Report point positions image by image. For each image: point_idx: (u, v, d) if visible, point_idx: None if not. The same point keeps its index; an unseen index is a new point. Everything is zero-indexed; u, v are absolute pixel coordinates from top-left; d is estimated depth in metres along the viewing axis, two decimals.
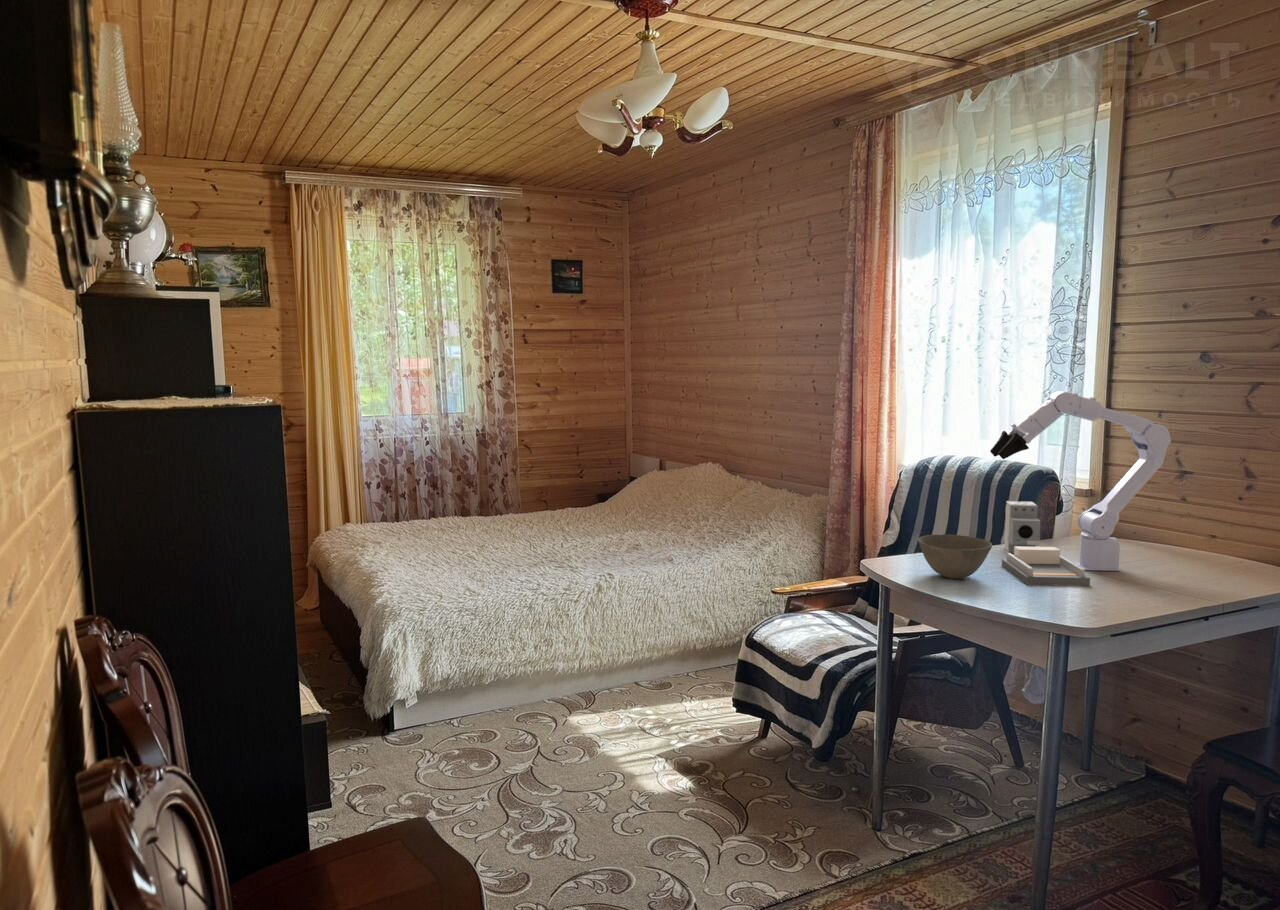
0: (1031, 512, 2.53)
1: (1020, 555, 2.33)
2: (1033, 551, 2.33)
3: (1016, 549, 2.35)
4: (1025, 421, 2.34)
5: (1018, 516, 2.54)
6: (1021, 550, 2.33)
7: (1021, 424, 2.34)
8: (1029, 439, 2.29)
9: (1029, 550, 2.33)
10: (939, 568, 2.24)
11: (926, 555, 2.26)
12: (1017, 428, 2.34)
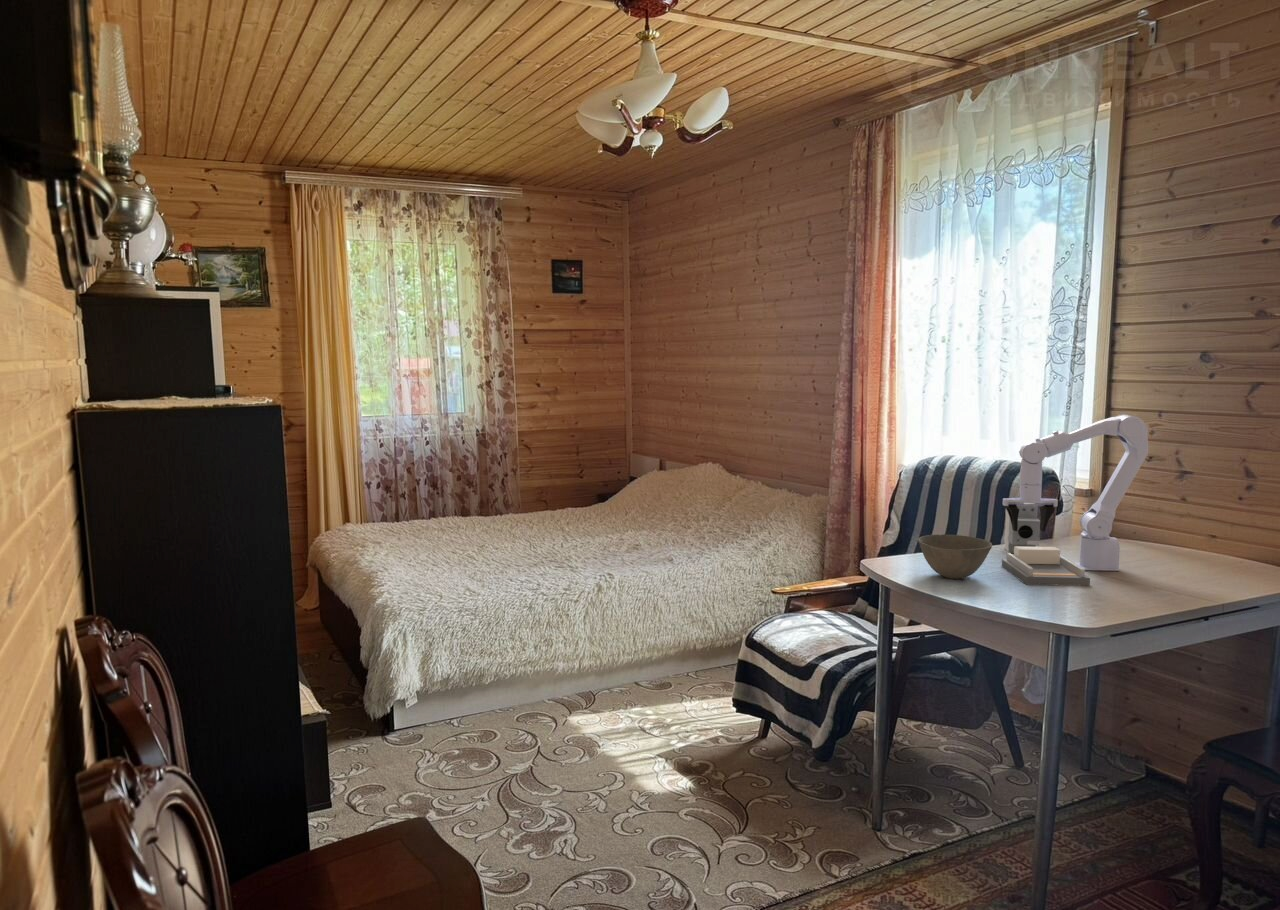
0: (1031, 512, 2.53)
1: (1020, 555, 2.33)
2: (1033, 551, 2.33)
3: (1016, 549, 2.35)
4: None
5: (1018, 516, 2.54)
6: (1021, 550, 2.33)
7: None
8: (1004, 502, 2.41)
9: (1029, 550, 2.33)
10: (939, 568, 2.24)
11: (926, 555, 2.26)
12: None
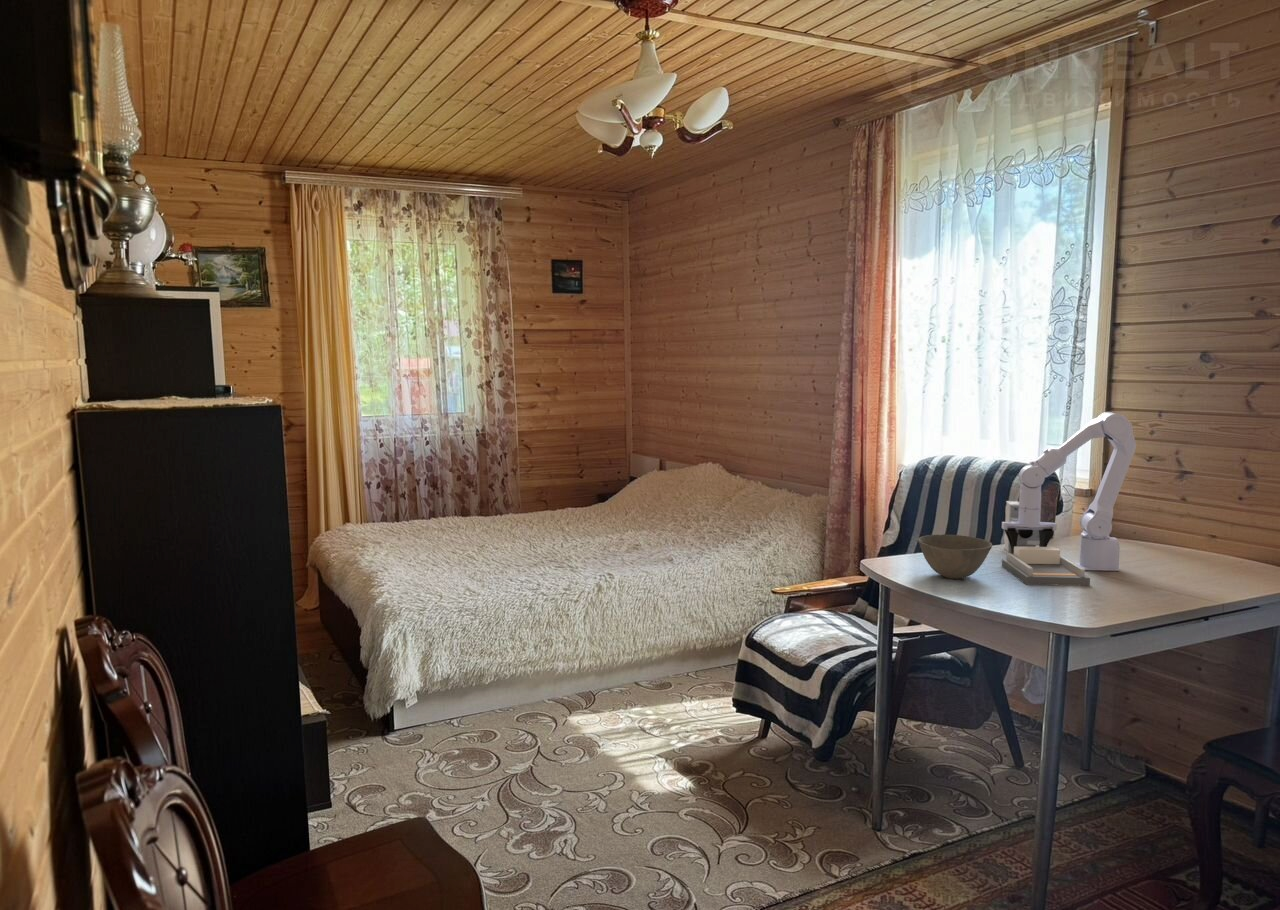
0: None
1: (1020, 555, 2.33)
2: (1033, 551, 2.33)
3: (1016, 549, 2.35)
4: None
5: (1018, 516, 2.54)
6: (1021, 550, 2.33)
7: None
8: (1003, 526, 2.41)
9: (1029, 550, 2.33)
10: (939, 568, 2.24)
11: (926, 555, 2.26)
12: None
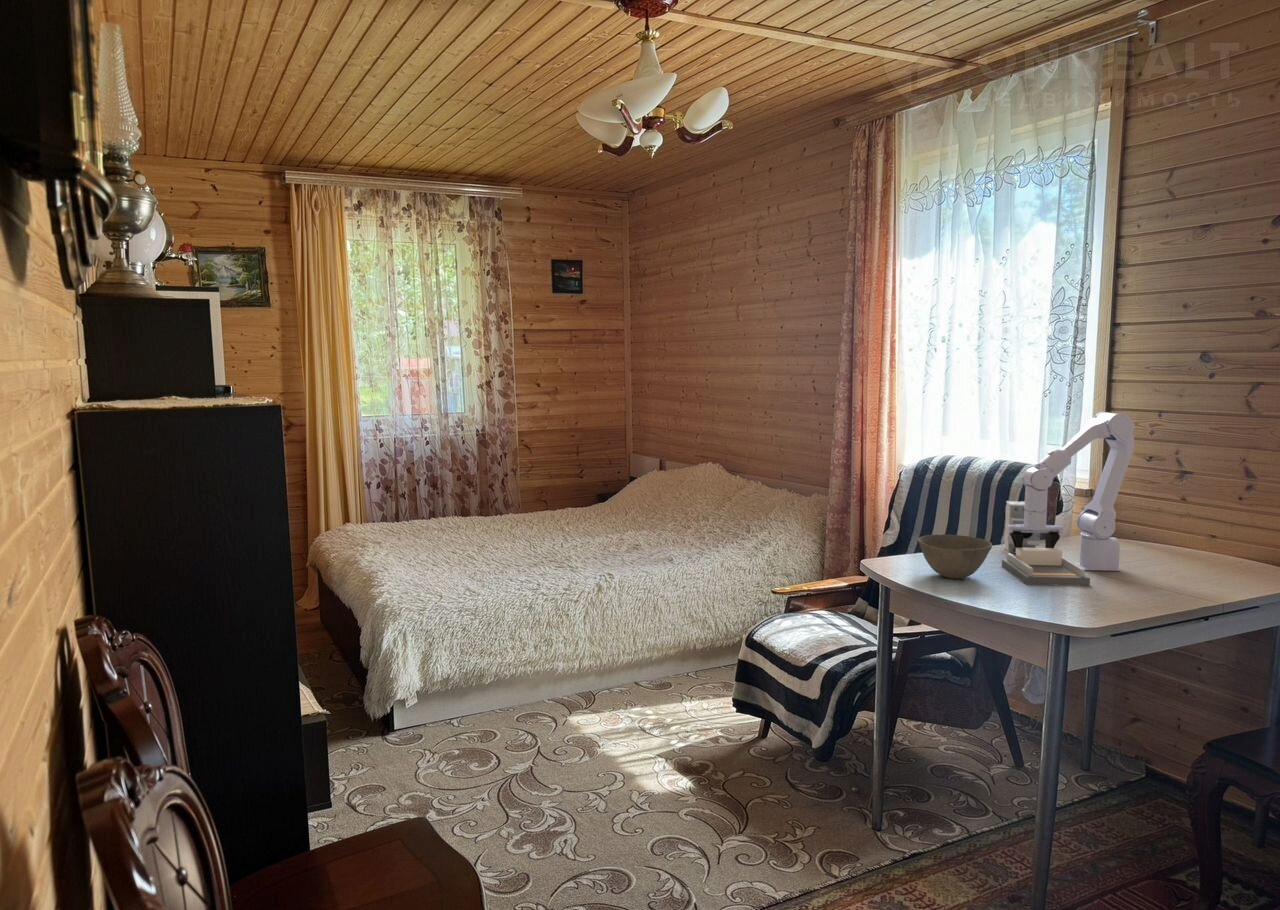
0: None
1: (1022, 556, 2.32)
2: (1035, 552, 2.31)
3: (1018, 550, 2.34)
4: None
5: (1018, 516, 2.54)
6: (1023, 551, 2.32)
7: None
8: (1008, 529, 2.37)
9: (1031, 551, 2.31)
10: (939, 568, 2.24)
11: (926, 555, 2.26)
12: None
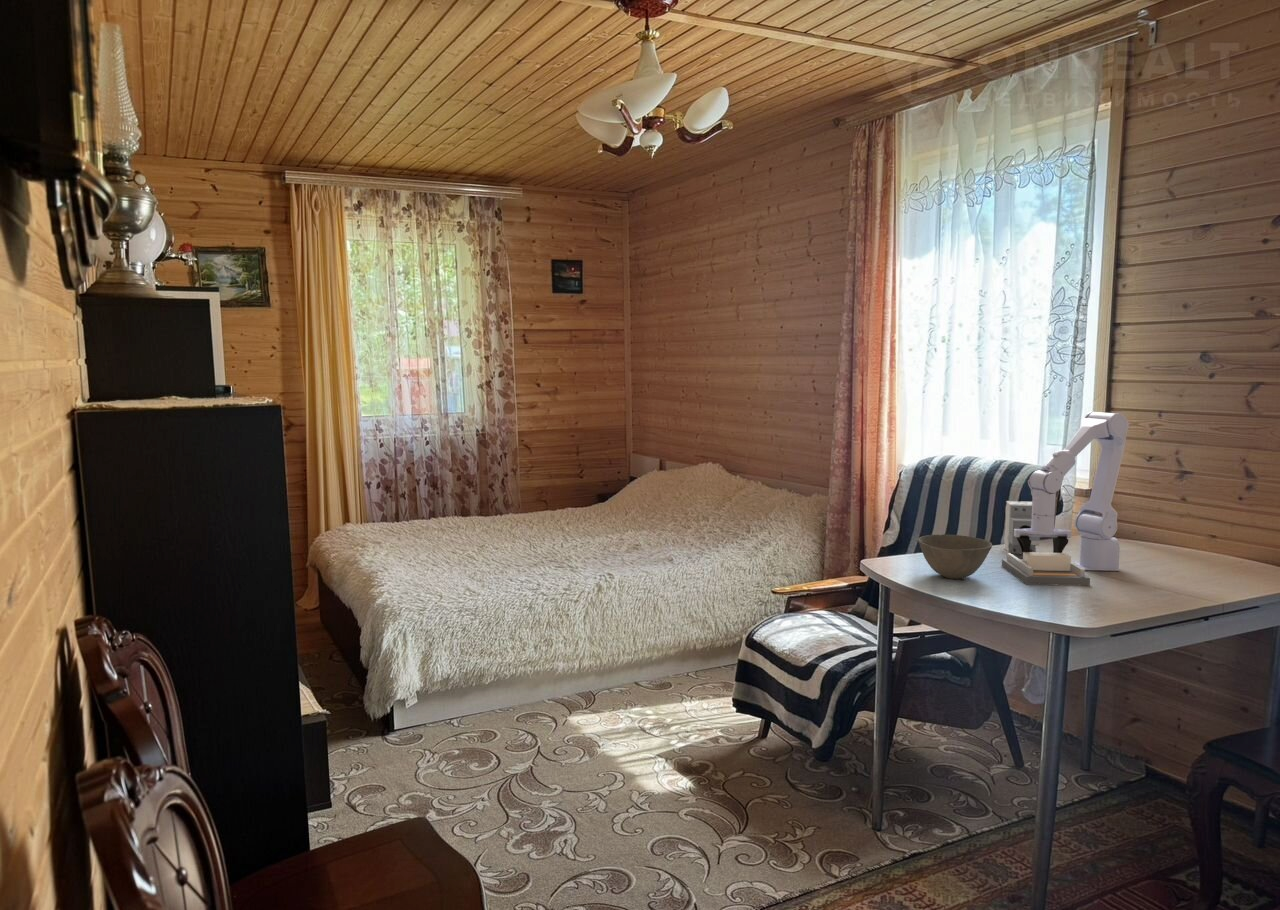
0: (1031, 512, 2.53)
1: (1029, 561, 2.26)
2: (1043, 557, 2.25)
3: (1025, 555, 2.28)
4: None
5: (1018, 516, 2.54)
6: (1030, 556, 2.26)
7: None
8: (1015, 533, 2.31)
9: (1039, 556, 2.26)
10: (939, 568, 2.24)
11: (926, 555, 2.26)
12: None
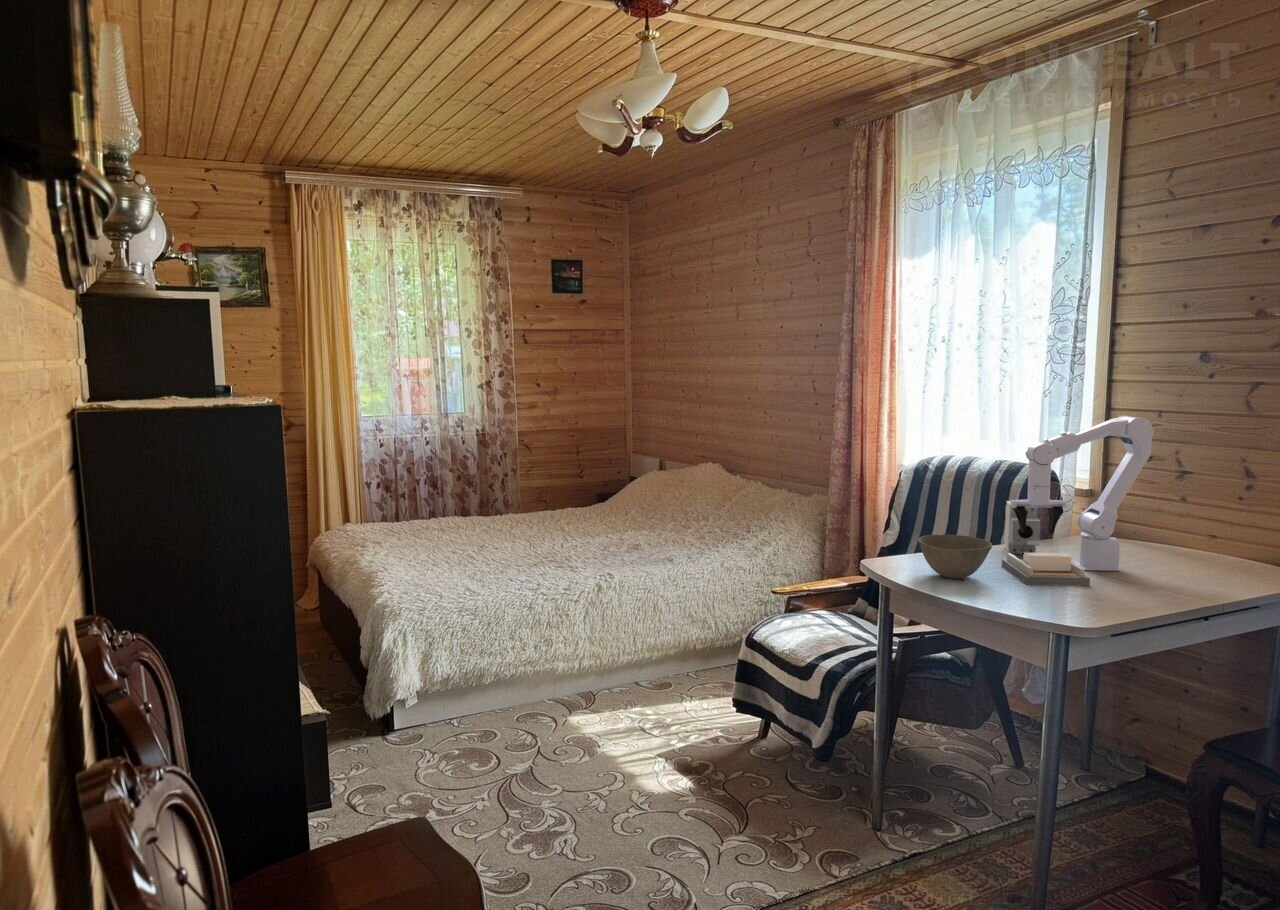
0: (1031, 512, 2.53)
1: (1030, 561, 2.26)
2: (1043, 558, 2.25)
3: (1026, 555, 2.27)
4: None
5: None
6: (1031, 556, 2.25)
7: None
8: (1012, 504, 2.37)
9: (1039, 556, 2.25)
10: (939, 568, 2.24)
11: (926, 555, 2.26)
12: None
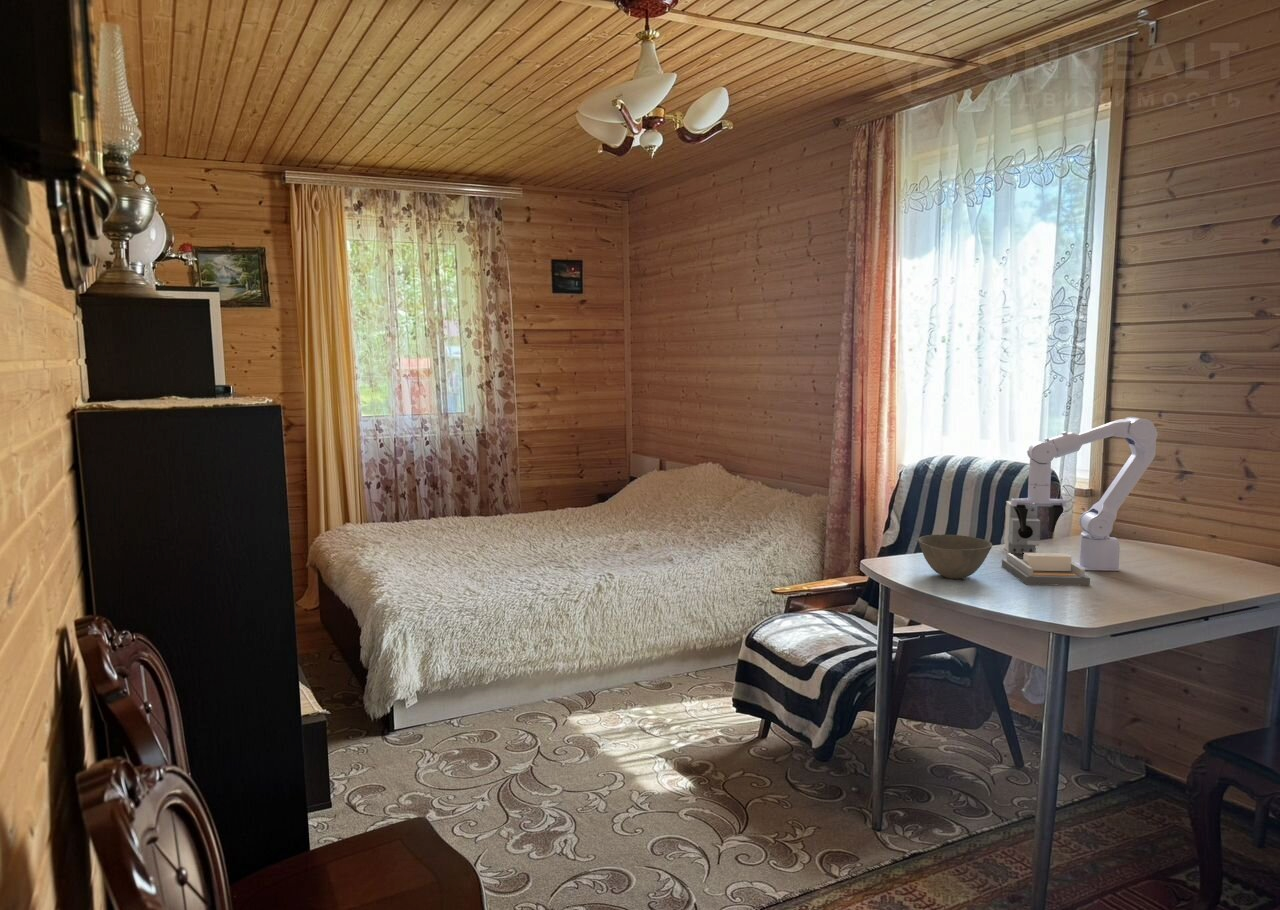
0: (1031, 512, 2.53)
1: (1030, 561, 2.26)
2: (1043, 558, 2.25)
3: (1026, 555, 2.27)
4: None
5: None
6: (1031, 556, 2.25)
7: None
8: (1012, 502, 2.39)
9: (1039, 556, 2.25)
10: (939, 568, 2.24)
11: (926, 555, 2.26)
12: None
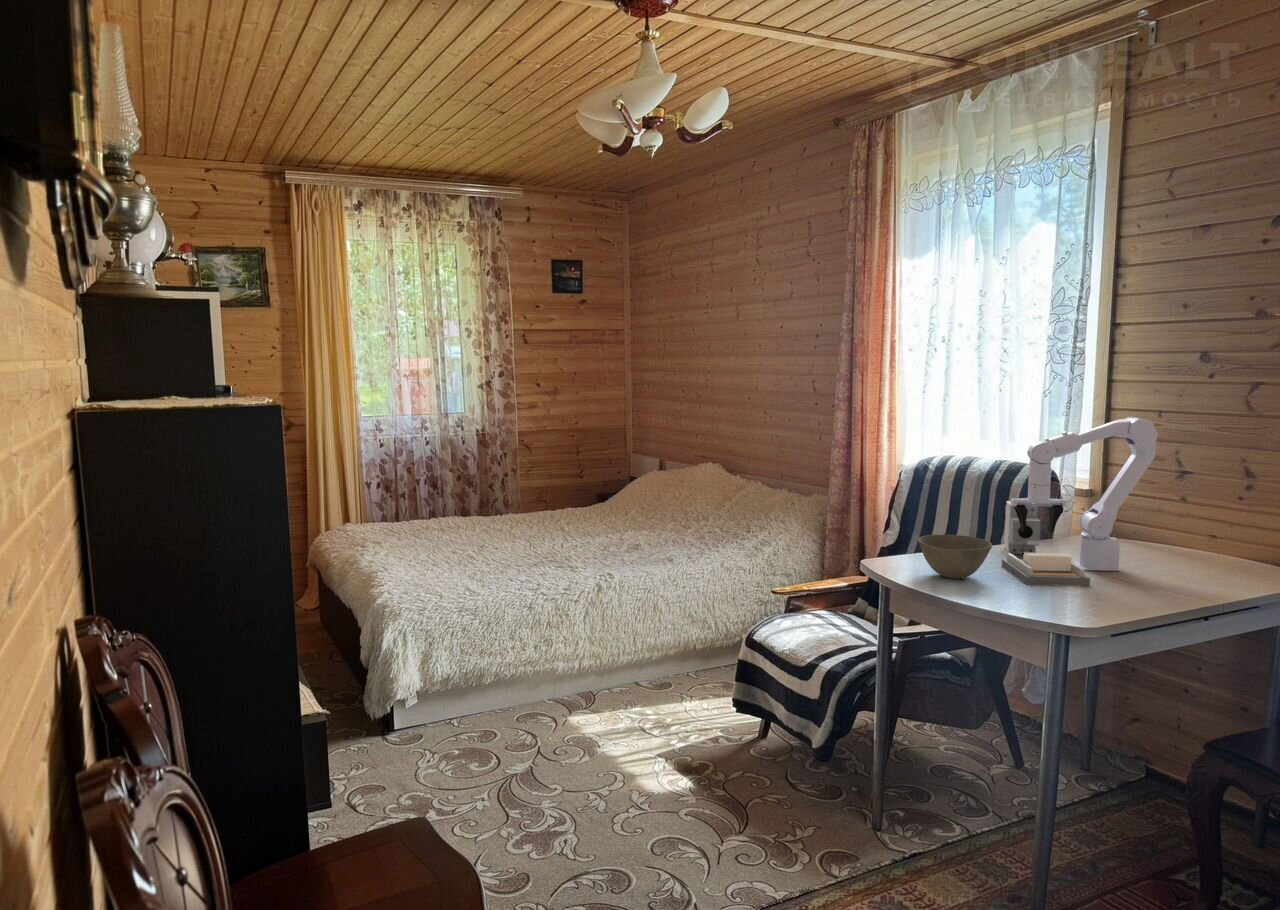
0: (1031, 512, 2.53)
1: (1030, 561, 2.26)
2: (1043, 558, 2.25)
3: (1026, 555, 2.27)
4: None
5: None
6: (1031, 556, 2.25)
7: None
8: (1012, 502, 2.39)
9: (1039, 556, 2.25)
10: (939, 568, 2.24)
11: (926, 555, 2.26)
12: None
